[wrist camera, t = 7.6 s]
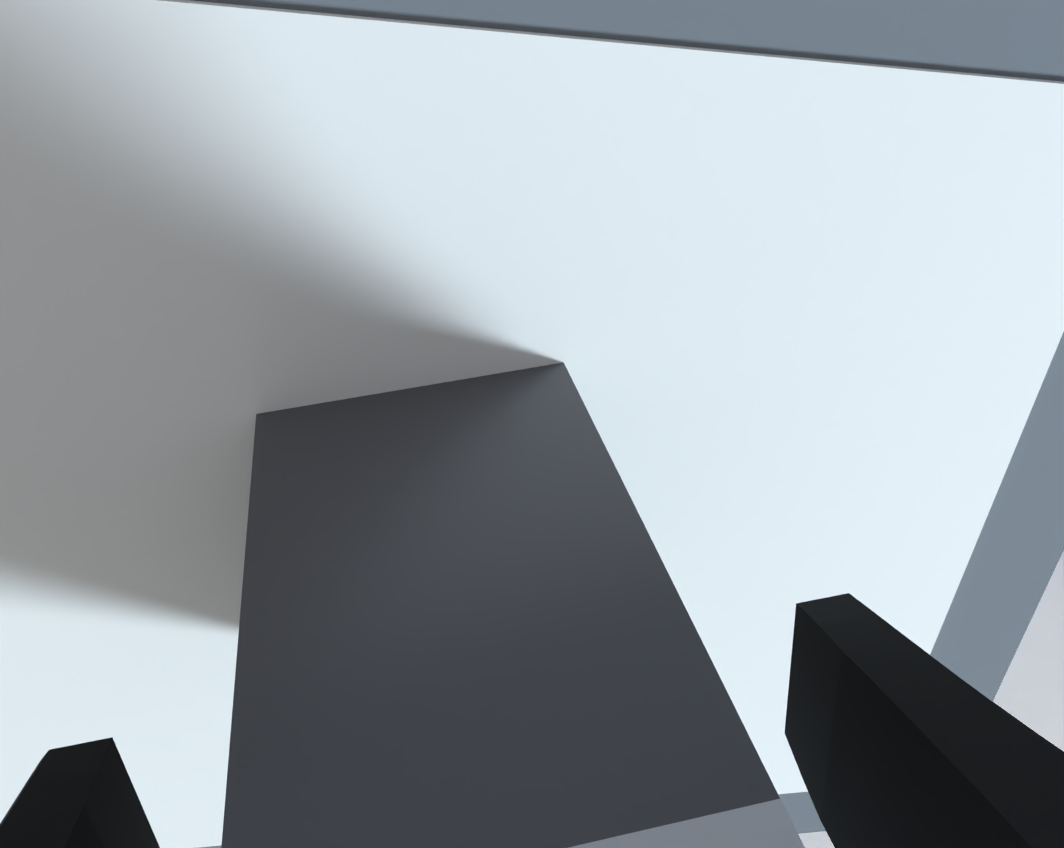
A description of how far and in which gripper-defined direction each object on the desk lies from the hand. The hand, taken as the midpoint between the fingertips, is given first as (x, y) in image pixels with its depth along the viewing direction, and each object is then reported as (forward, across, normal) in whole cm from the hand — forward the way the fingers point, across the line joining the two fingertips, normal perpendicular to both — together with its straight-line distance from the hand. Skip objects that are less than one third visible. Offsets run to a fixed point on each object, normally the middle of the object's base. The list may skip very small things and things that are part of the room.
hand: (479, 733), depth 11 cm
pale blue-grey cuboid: (+4, 0, 0) cm, 4 cm away
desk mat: (+4, 0, 0) cm, 5 cm away
